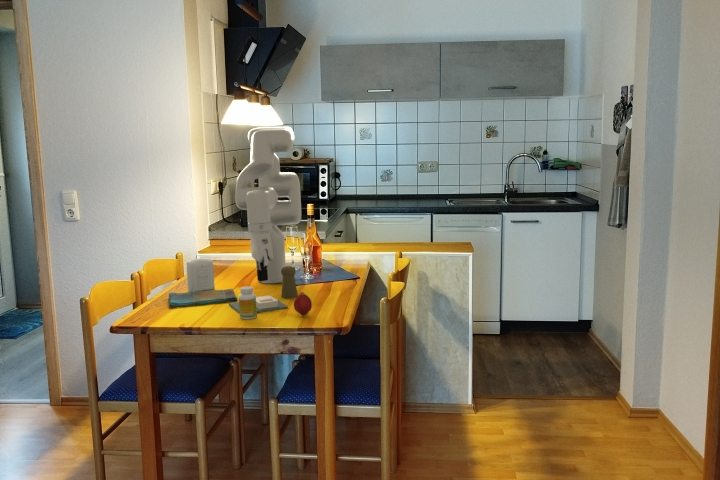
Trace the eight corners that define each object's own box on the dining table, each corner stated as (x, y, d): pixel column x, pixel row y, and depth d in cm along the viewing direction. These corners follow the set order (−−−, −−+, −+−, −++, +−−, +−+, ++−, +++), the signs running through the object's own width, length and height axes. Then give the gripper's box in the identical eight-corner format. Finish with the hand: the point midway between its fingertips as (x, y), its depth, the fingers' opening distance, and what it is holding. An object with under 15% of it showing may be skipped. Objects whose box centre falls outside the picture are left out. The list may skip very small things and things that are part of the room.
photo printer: (212, 287, 261) (210, 255, 259) (216, 289, 258) (214, 257, 255) (186, 291, 256) (184, 259, 253) (190, 293, 252) (187, 261, 250)
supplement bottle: (256, 319, 215) (254, 289, 213) (239, 320, 215) (237, 290, 213) (257, 314, 220) (255, 285, 219) (240, 315, 220) (238, 286, 218)
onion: (294, 313, 220) (293, 289, 219) (312, 312, 220) (311, 288, 219) (294, 318, 214) (292, 294, 213) (312, 317, 215) (311, 293, 213)
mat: (273, 298, 240) (273, 296, 240) (287, 308, 227) (287, 306, 227) (229, 305, 233) (228, 303, 233) (241, 315, 220) (241, 313, 220)
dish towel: (168, 298, 248) (167, 291, 247) (233, 292, 254) (232, 285, 254) (168, 310, 232) (168, 303, 231) (237, 303, 238) (237, 296, 238)
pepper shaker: (300, 295, 244) (299, 265, 242) (293, 299, 239) (292, 268, 237) (285, 294, 246) (284, 264, 244) (278, 298, 241) (276, 268, 239)
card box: (269, 295, 235) (277, 300, 226) (269, 301, 235) (278, 306, 227) (251, 297, 232) (259, 303, 224) (251, 303, 232) (259, 309, 224)
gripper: (277, 229, 222) (280, 283, 225) (263, 223, 235) (266, 274, 238) (255, 232, 218) (259, 287, 222) (242, 225, 231) (245, 277, 235)
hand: (262, 280), depth 230 cm, fingers closed
